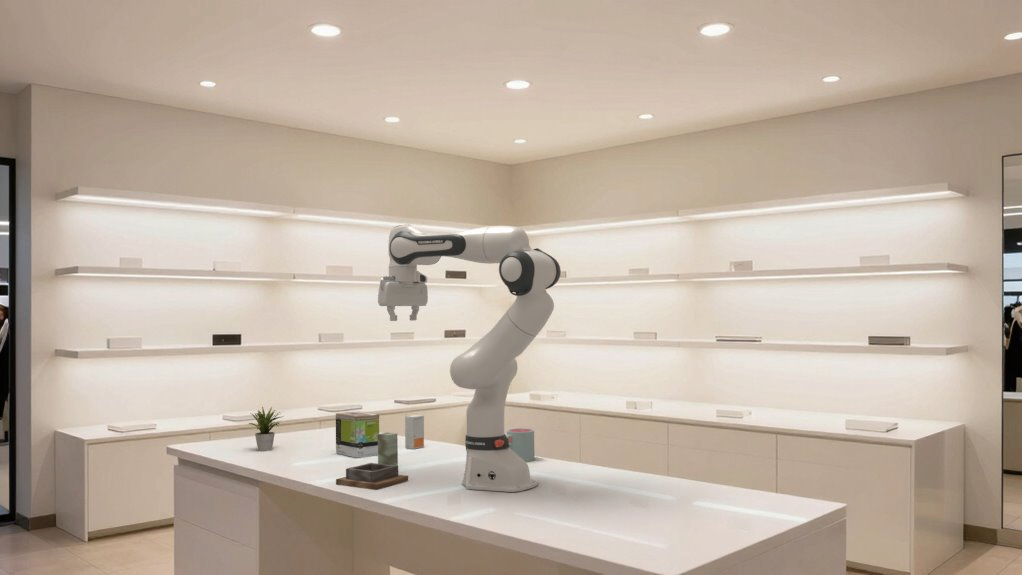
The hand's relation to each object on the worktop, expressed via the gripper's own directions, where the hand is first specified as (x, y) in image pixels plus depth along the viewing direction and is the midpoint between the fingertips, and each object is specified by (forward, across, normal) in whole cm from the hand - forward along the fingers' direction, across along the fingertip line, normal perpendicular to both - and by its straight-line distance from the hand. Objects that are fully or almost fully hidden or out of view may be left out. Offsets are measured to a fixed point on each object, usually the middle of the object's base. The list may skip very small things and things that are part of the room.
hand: (403, 320), depth 263 cm
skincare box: (+48, +40, +30) cm, 69 cm away
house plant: (+48, +10, +76) cm, 91 cm away
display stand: (+48, -15, 0) cm, 50 cm away
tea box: (+48, +20, +40) cm, 65 cm away
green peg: (+48, 0, +7) cm, 48 cm away
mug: (+48, +35, -18) cm, 62 cm away
